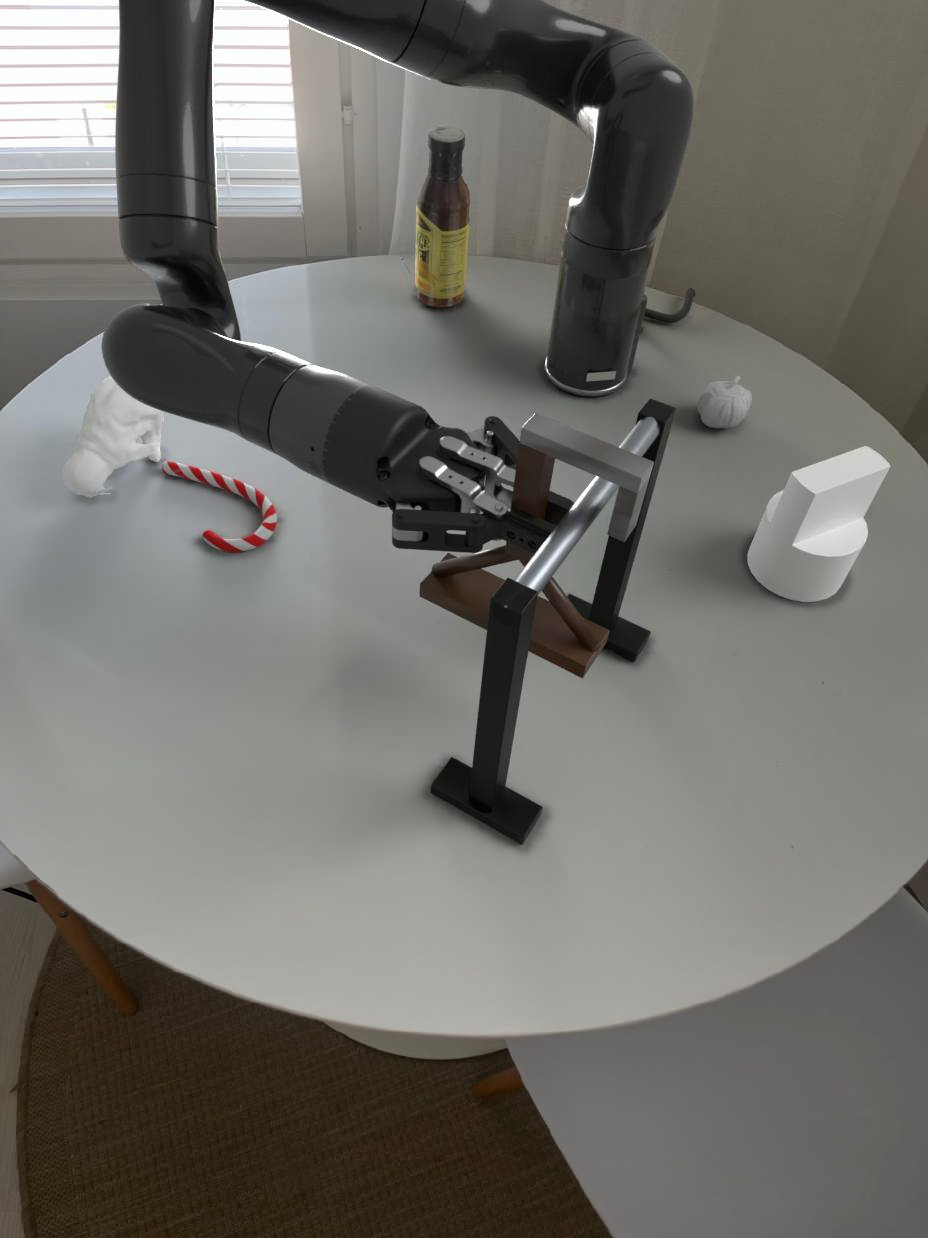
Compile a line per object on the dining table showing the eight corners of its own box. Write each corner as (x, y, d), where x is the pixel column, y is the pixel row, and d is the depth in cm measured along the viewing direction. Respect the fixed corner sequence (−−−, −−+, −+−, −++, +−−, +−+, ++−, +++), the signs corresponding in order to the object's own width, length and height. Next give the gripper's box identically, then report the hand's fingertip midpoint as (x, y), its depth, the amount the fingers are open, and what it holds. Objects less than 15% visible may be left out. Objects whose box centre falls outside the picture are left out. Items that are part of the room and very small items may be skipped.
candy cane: (188, 443, 91) (296, 510, 86) (190, 453, 92) (297, 520, 87) (125, 483, 87) (235, 556, 81) (128, 493, 88) (237, 566, 82)
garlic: (726, 400, 102) (739, 361, 98) (755, 429, 99) (770, 389, 95) (682, 413, 100) (693, 373, 96) (710, 442, 97) (723, 402, 93)
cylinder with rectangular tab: (789, 614, 82) (838, 518, 73) (727, 549, 87) (766, 451, 78) (863, 583, 85) (919, 487, 76) (799, 522, 90) (844, 424, 81)
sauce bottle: (413, 283, 115) (415, 116, 100) (462, 283, 115) (471, 117, 100) (416, 312, 111) (418, 142, 95) (467, 312, 111) (477, 143, 96)
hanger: (417, 596, 69) (423, 399, 55) (445, 564, 71) (458, 367, 57) (583, 679, 65) (635, 489, 51) (607, 643, 67) (663, 451, 53)
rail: (567, 601, 82) (613, 378, 63) (648, 639, 79) (720, 419, 61) (430, 793, 69) (438, 582, 50) (522, 845, 66) (566, 644, 48)
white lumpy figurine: (159, 374, 86) (80, 457, 79) (181, 440, 93) (110, 522, 86) (103, 356, 87) (22, 436, 81) (129, 422, 94) (56, 501, 88)
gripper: (284, 444, 57) (524, 557, 52) (405, 343, 65) (623, 432, 60) (294, 529, 63) (511, 638, 58) (404, 427, 71) (603, 514, 66)
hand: (567, 532), depth 59 cm, fingers closed on hanger, 2 cm apart
